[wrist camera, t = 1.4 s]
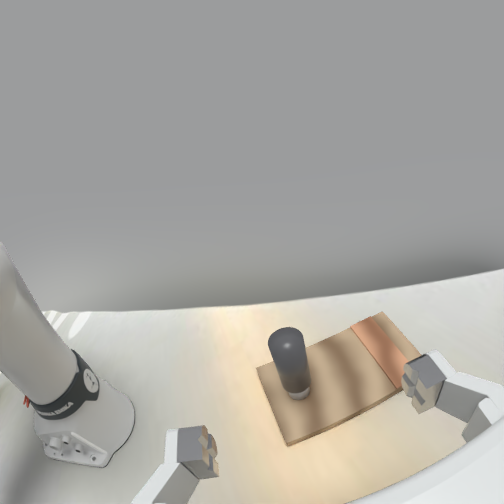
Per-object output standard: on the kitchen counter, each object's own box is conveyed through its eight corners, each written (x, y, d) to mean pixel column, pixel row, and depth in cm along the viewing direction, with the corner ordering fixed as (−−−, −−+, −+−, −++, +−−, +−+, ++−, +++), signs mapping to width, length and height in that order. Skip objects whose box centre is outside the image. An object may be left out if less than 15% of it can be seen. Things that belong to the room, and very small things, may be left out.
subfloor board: (287, 446, 33) (285, 442, 32) (258, 373, 45) (255, 366, 44) (429, 372, 35) (431, 365, 34) (381, 317, 47) (382, 310, 46)
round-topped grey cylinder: (291, 407, 37) (274, 359, 30) (281, 386, 40) (263, 335, 34) (317, 396, 37) (308, 345, 31) (306, 375, 40) (295, 322, 34)
